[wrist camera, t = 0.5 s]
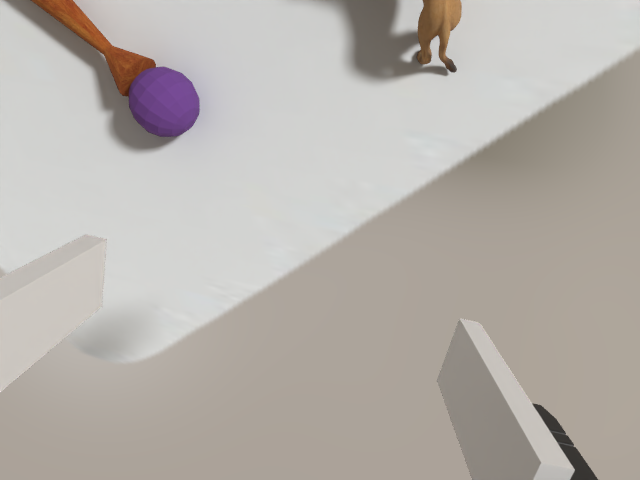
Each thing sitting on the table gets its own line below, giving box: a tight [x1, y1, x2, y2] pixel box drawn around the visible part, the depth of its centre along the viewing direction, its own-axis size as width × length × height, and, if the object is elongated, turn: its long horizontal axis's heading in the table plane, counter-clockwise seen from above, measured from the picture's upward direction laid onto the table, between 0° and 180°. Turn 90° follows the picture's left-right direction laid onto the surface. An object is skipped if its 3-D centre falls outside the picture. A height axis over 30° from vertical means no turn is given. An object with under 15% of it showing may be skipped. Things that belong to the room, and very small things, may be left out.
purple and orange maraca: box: [31, 0, 199, 137], centre depth 38 cm, size 6×6×20 cm
